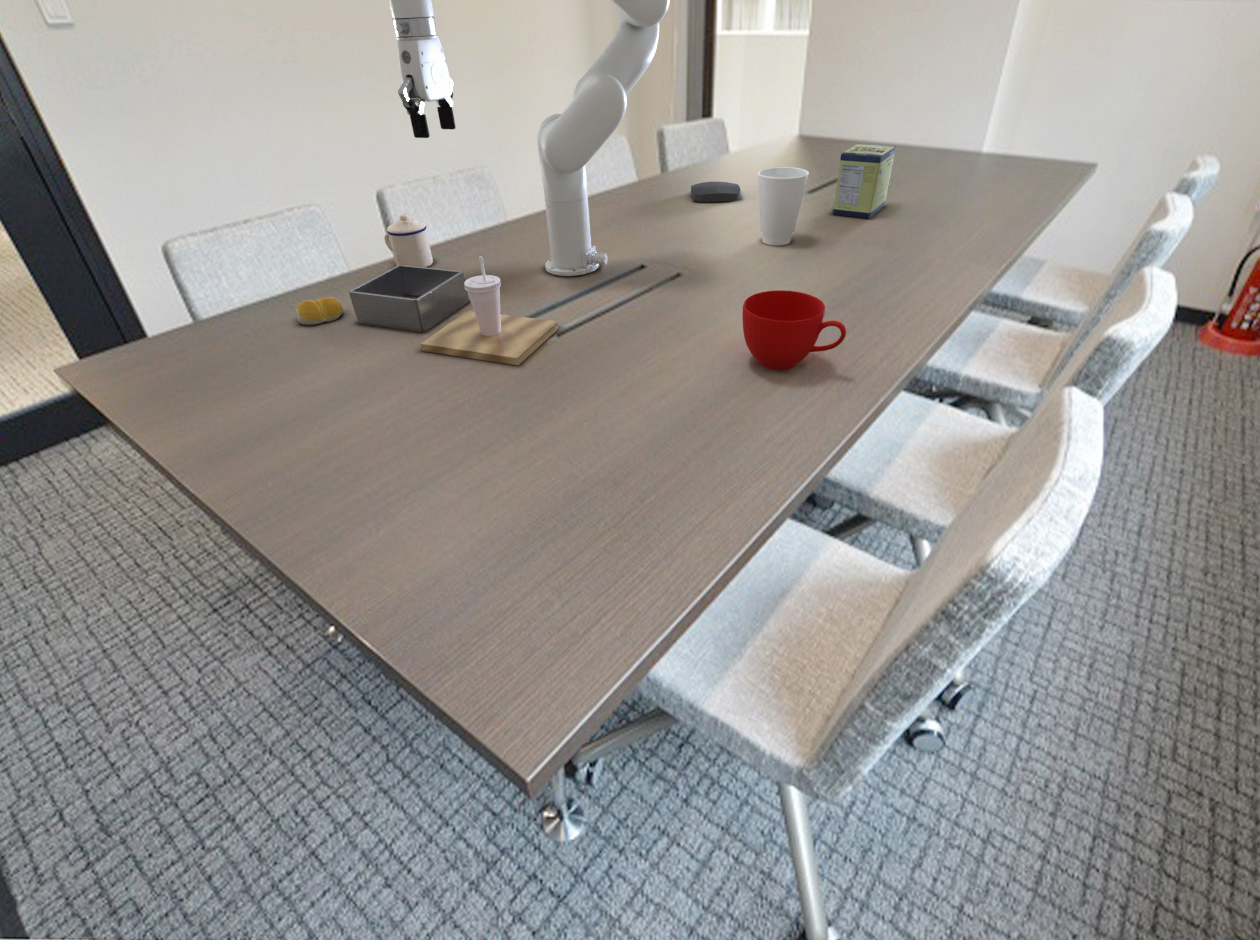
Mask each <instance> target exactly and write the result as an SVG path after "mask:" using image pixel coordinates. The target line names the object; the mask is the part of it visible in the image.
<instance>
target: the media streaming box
mask: <svg viewBox="0 0 1260 940" xmlns="http://www.w3.org/2000/svg"><path fill="white" fill-rule="evenodd" d="M741 193H742V192H741V187H740V185H739V184H737V183H734V182H727V181H704V182H699V183H695V184H692V185H691V186H690V195H691V200H693V201H695V202H699V203H709V202H711V203H712V202H714V203H715V202H731V201H732V202H733V201H737V200H740V199H741Z"/></svg>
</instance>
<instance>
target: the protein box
mask: <svg viewBox="0 0 1260 940" xmlns="http://www.w3.org/2000/svg"><path fill="white" fill-rule="evenodd" d="M895 152H896V145H884V144H871V143H856V144H854V146H852V147H849V149H847V150H845V151H843V152H841V153H840V158H839V165H838V166H839V167H838V173H837V180H836V187H835V193H834V202H833V206H832V207H833V208H832V215H834V216H835V215H836V216H844V217H851V218H852V217H853V218H861V219H869V220H870V219H871V218H873V216H874V215H875V214H876V213H877V212H879V211H880V210H882V208H883V207H885V204H886V199H887V195H888V189H889V184H890V179H891V175H892V174H891V173H892V168H893V165H894V164H893V163H894V158H895Z"/></svg>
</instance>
